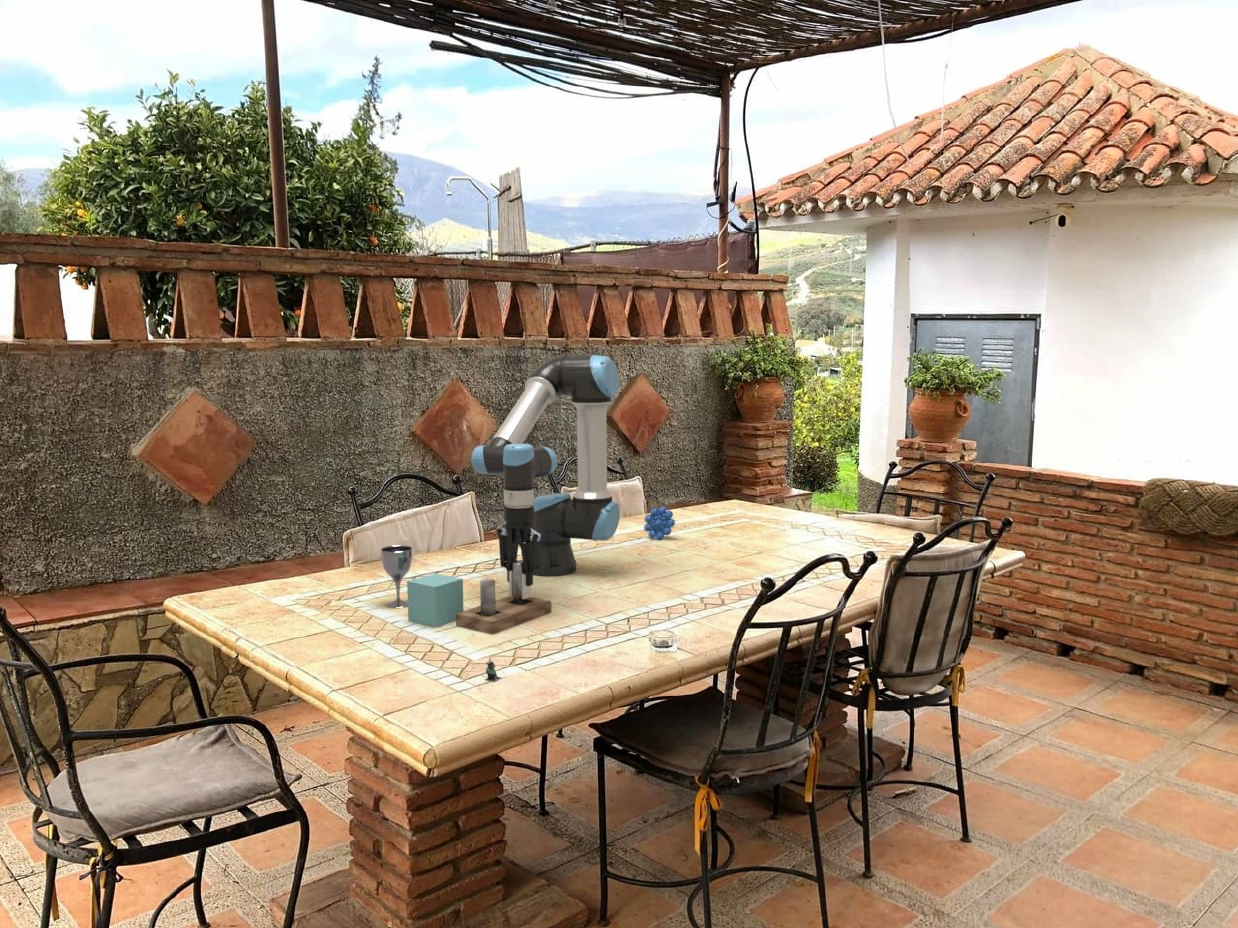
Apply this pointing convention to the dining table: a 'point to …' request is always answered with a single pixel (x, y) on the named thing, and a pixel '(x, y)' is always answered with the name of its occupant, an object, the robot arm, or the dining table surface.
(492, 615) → the board
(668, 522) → the grapes
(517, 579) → the pin
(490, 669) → the sculpture
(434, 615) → the teal cube block
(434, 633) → the dining table surface
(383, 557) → the wine glass
